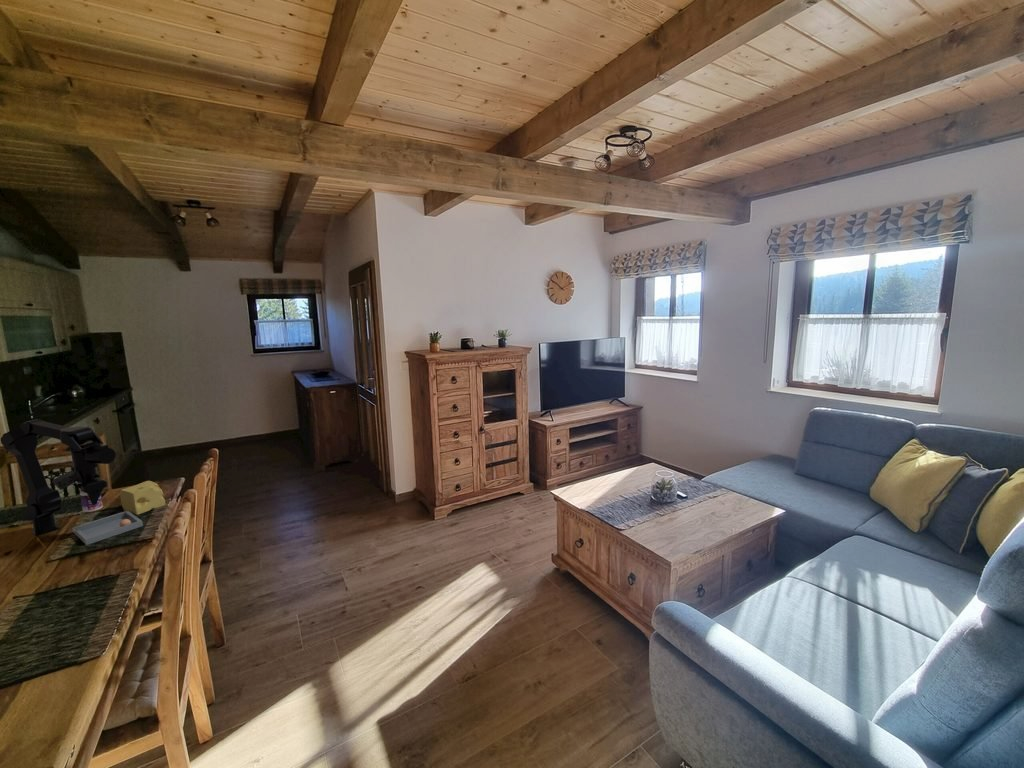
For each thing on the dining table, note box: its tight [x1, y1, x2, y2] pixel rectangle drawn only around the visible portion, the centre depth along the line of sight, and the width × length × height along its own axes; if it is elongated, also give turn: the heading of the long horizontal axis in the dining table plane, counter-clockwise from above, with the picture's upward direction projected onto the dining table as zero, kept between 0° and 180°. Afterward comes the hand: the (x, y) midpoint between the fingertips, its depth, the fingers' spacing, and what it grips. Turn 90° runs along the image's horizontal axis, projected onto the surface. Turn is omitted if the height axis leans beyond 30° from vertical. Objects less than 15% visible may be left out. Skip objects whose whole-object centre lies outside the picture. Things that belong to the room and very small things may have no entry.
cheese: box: [119, 480, 166, 516], centre depth 180 cm, size 10×11×10 cm
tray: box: [72, 510, 144, 546], centre depth 163 cm, size 16×16×3 cm
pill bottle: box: [79, 490, 104, 513], centre depth 159 cm, size 5×5×10 cm
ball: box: [120, 519, 131, 527], centre depth 164 cm, size 3×3×3 cm
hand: (91, 502), depth 159 cm, fingers closed on pill bottle, 5 cm apart
